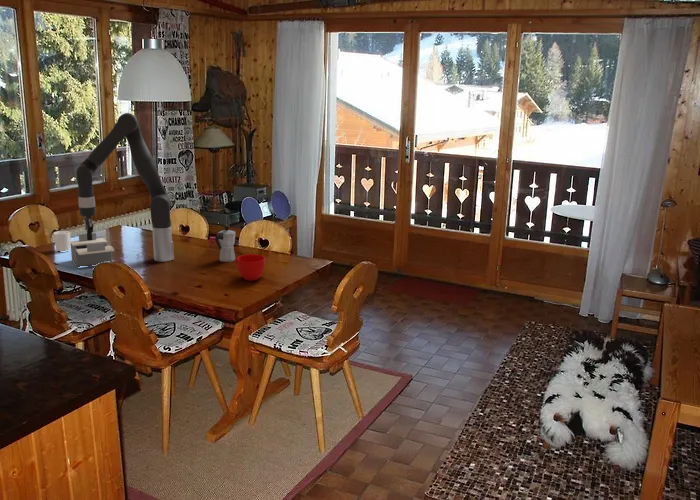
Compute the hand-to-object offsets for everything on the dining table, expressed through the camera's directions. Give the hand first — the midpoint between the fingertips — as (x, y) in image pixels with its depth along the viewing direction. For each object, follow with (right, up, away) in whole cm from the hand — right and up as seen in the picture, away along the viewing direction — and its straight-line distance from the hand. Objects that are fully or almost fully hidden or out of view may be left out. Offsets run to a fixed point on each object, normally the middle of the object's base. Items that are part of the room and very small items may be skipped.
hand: (89, 239), depth 327 cm
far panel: (-2, -1, +4) cm, 4 cm away
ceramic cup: (+81, -18, -14) cm, 84 cm away
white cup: (-22, -6, +22) cm, 31 cm away
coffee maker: (+65, -10, +13) cm, 67 cm away
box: (0, -11, +3) cm, 12 cm away
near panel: (+7, -5, -10) cm, 13 cm away
